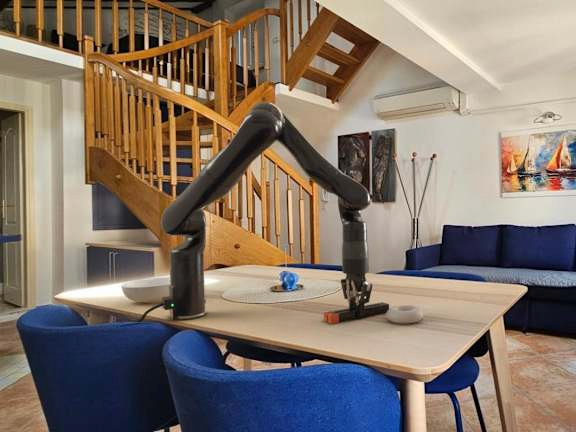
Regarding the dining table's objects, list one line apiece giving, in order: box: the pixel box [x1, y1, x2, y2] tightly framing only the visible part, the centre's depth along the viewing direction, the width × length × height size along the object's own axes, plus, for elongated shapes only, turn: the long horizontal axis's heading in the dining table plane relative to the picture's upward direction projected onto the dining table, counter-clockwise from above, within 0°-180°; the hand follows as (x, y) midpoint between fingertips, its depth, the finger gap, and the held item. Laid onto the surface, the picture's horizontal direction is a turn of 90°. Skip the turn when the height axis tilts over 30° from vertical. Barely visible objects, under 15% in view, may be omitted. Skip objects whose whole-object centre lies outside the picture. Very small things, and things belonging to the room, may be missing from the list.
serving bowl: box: [121, 276, 170, 304], centre depth 149 cm, size 21×21×7 cm
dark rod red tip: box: [323, 302, 390, 325], centre depth 120 cm, size 20×4×2 cm, turn 126°
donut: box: [386, 304, 424, 325], centre depth 115 cm, size 10×4×10 cm
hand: (356, 316), depth 120 cm, fingers closed on dark rod red tip, 3 cm apart
